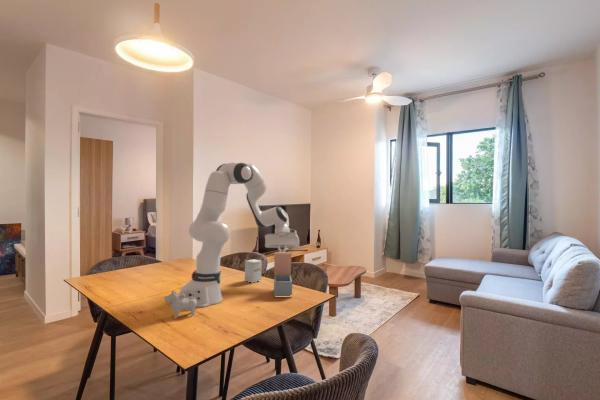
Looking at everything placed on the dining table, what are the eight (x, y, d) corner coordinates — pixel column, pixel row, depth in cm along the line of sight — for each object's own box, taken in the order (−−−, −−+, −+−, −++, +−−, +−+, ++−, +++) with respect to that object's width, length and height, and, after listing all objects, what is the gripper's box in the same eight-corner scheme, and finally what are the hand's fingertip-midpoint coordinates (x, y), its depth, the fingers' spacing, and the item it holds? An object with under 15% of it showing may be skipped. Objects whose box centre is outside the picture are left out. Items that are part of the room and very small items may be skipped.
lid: (274, 253, 163) (274, 252, 164) (274, 275, 166) (274, 274, 167) (291, 253, 164) (291, 252, 165) (290, 275, 167) (290, 274, 168)
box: (274, 297, 153) (274, 281, 153) (273, 289, 166) (274, 275, 166) (291, 297, 154) (292, 281, 154) (290, 289, 167) (290, 275, 167)
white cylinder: (252, 283, 177) (253, 262, 177) (244, 281, 182) (244, 260, 182) (261, 281, 183) (262, 260, 183) (253, 279, 188) (253, 258, 188)
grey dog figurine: (164, 315, 127) (164, 290, 127) (195, 311, 132) (196, 287, 132) (163, 320, 122) (164, 294, 122) (196, 316, 127) (197, 291, 127)
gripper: (264, 230, 179) (264, 249, 169) (299, 230, 181) (300, 249, 171) (264, 236, 183) (264, 255, 174) (298, 237, 185) (299, 256, 176)
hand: (282, 252), depth 172 cm, fingers closed
